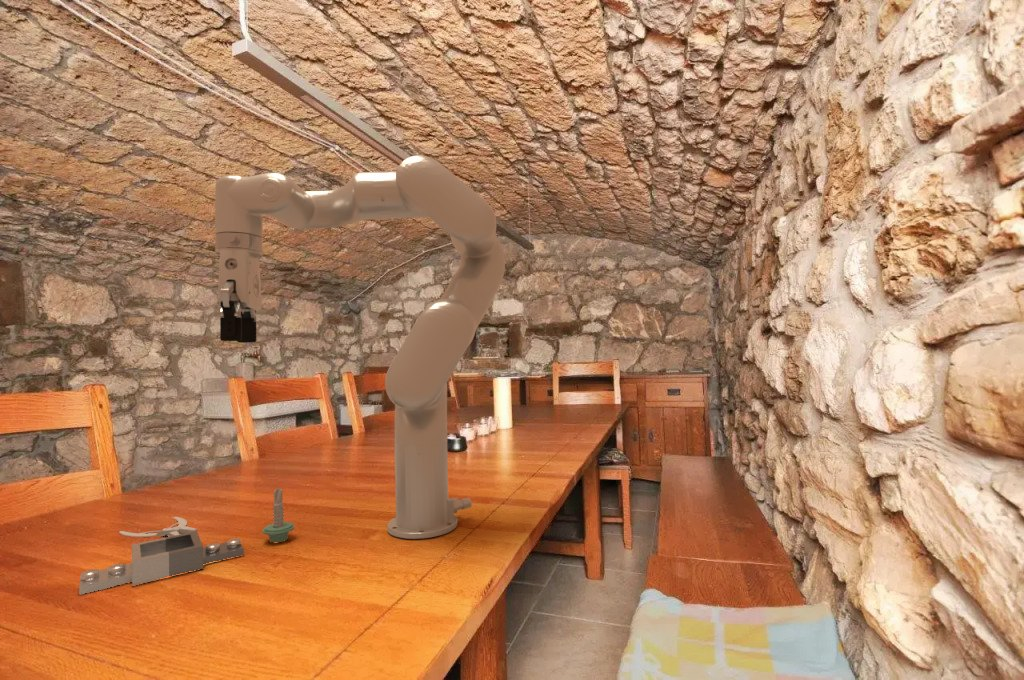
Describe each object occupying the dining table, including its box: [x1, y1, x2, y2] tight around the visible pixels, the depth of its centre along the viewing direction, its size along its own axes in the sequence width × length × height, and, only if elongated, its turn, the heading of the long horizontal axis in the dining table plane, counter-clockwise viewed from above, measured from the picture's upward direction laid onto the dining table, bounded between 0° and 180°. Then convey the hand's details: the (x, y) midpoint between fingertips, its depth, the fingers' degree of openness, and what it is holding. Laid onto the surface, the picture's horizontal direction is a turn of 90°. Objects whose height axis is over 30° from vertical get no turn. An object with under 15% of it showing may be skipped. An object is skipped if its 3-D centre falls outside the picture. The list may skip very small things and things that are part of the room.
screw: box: [262, 488, 295, 543], centre depth 87 cm, size 9×5×5 cm
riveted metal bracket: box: [78, 530, 245, 596], centre depth 76 cm, size 20×8×4 cm, turn 128°
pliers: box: [118, 516, 198, 537], centre depth 93 cm, size 10×2×15 cm
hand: (239, 341), depth 90 cm, fingers open, 9 cm apart
